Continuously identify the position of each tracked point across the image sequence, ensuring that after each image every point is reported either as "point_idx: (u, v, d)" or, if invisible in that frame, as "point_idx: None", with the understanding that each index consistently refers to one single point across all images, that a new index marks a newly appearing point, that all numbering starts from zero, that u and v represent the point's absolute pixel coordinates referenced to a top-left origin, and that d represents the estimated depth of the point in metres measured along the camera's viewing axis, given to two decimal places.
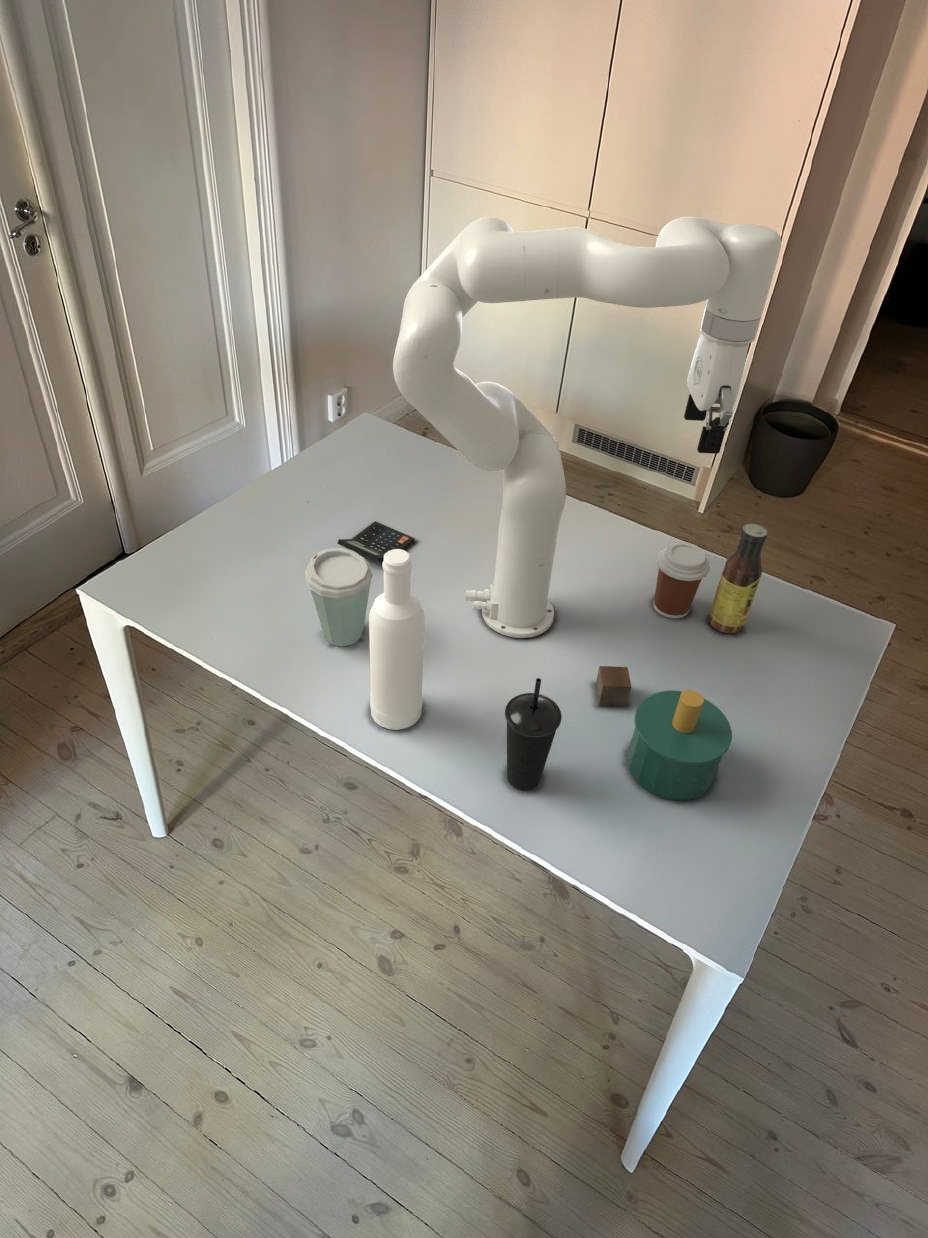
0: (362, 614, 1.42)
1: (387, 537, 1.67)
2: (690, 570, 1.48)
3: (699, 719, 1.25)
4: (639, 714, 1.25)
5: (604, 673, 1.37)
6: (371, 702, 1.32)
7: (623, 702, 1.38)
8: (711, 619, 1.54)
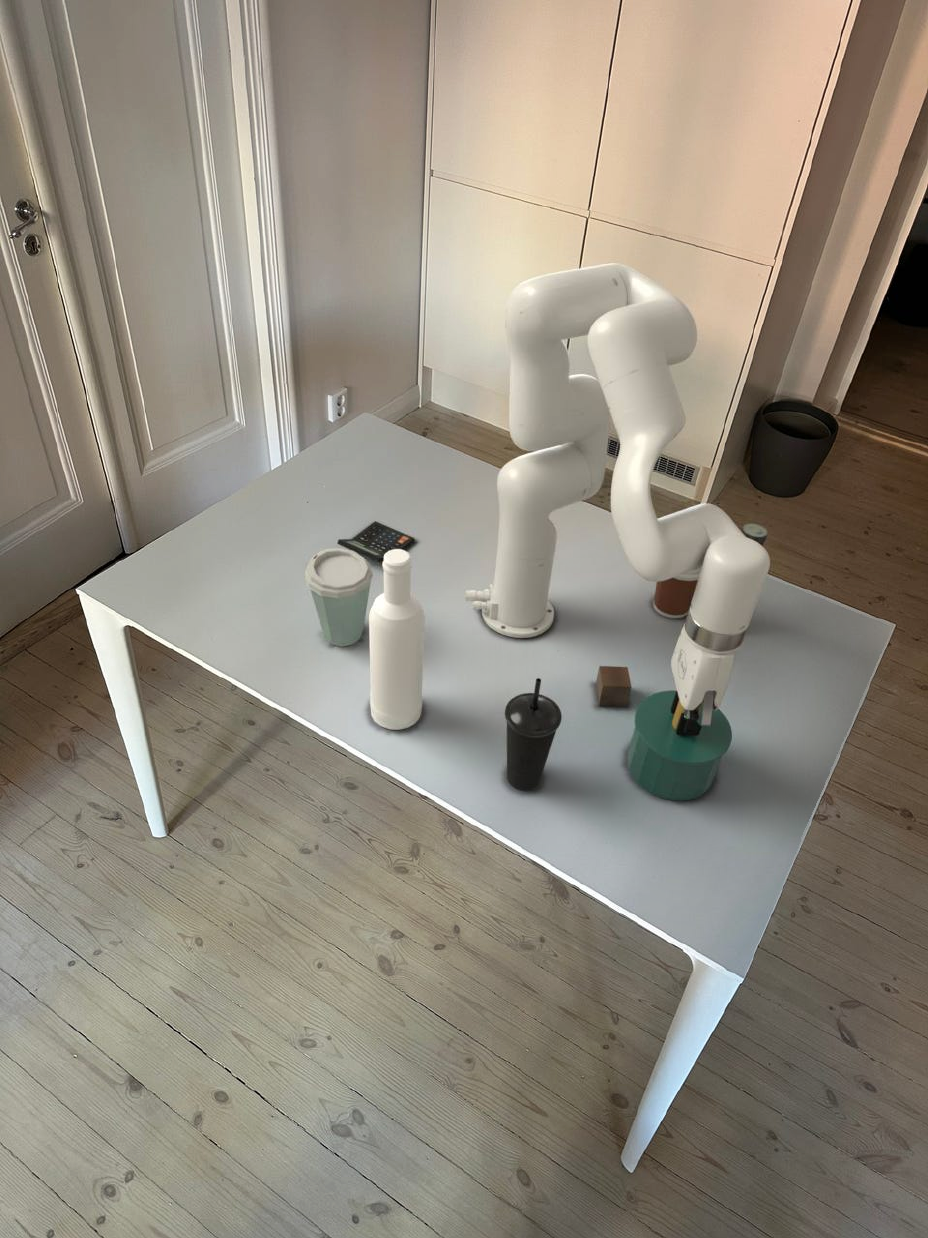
0: (362, 614, 1.42)
1: (387, 537, 1.67)
2: (690, 570, 1.48)
3: None
4: (639, 714, 1.25)
5: (604, 673, 1.37)
6: (371, 702, 1.32)
7: (623, 702, 1.38)
8: None
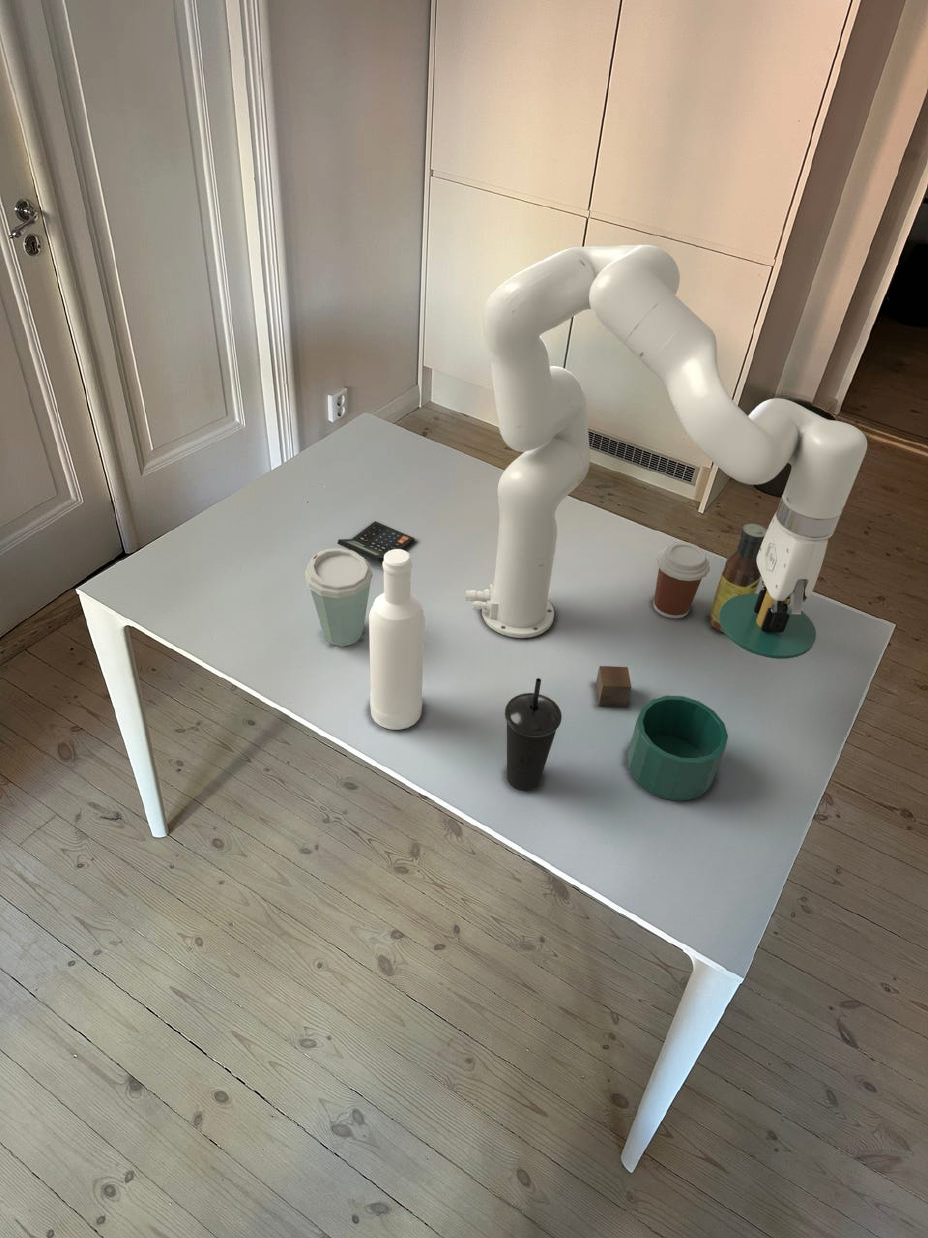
0: (362, 614, 1.42)
1: (387, 537, 1.67)
2: (690, 570, 1.48)
3: None
4: (723, 613, 1.27)
5: (604, 673, 1.37)
6: (371, 702, 1.32)
7: (623, 702, 1.38)
8: (711, 619, 1.54)
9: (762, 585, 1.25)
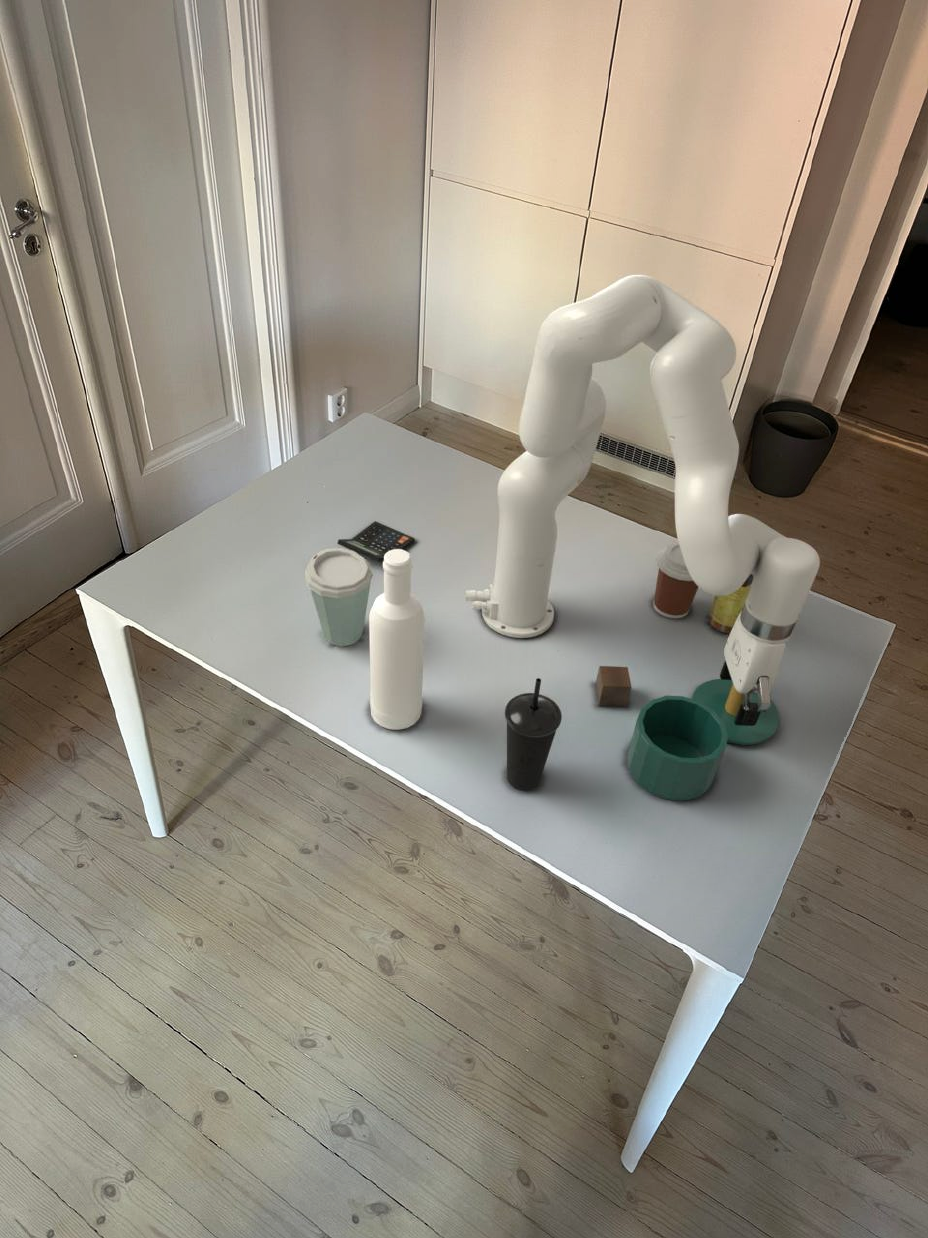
0: (362, 614, 1.42)
1: (387, 537, 1.67)
2: None
3: None
4: (695, 699, 1.39)
5: (604, 673, 1.37)
6: (371, 702, 1.32)
7: (623, 702, 1.38)
8: (711, 619, 1.54)
9: None
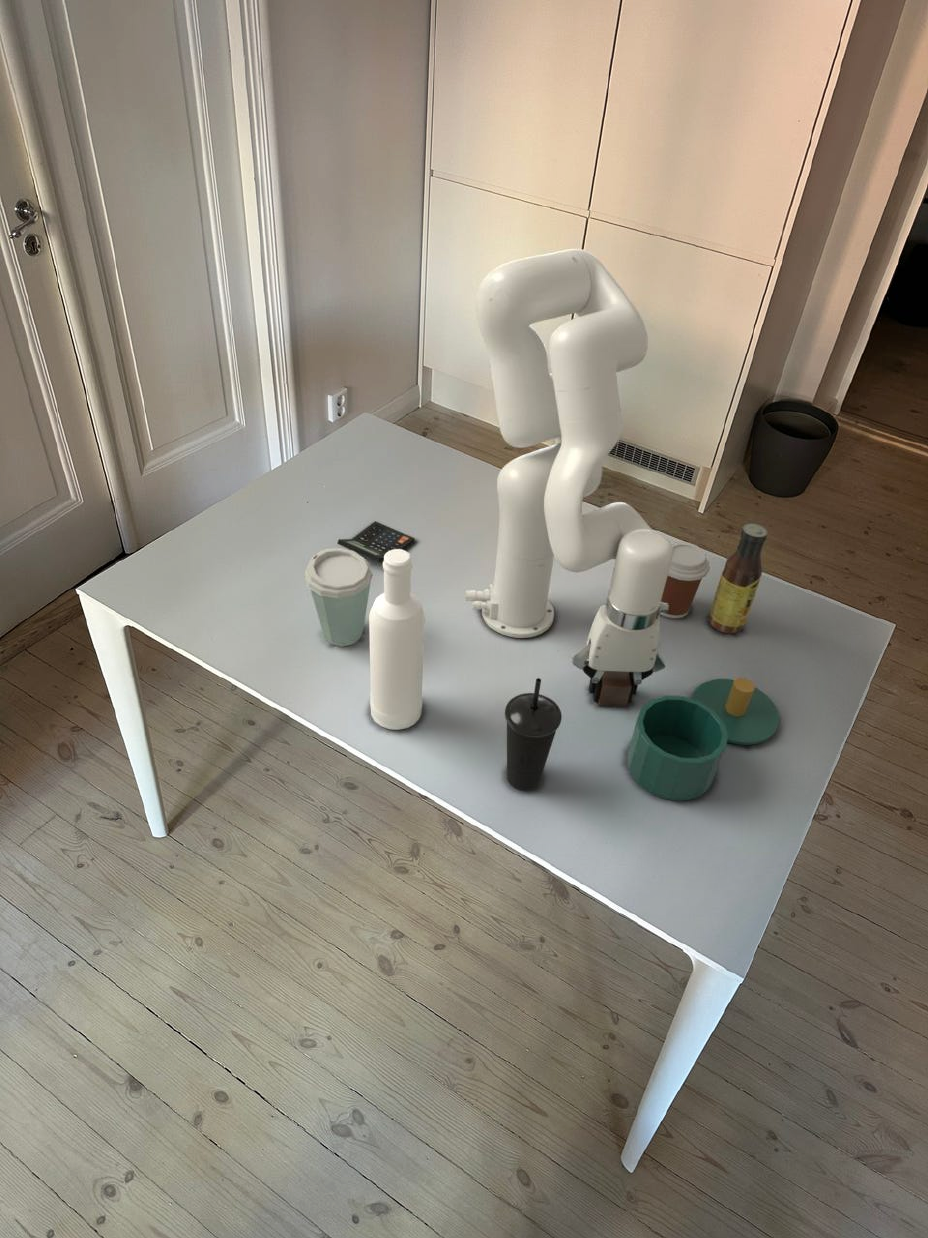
0: (362, 614, 1.42)
1: (387, 537, 1.67)
2: (690, 570, 1.48)
3: (749, 704, 1.39)
4: (695, 699, 1.39)
5: (604, 673, 1.37)
6: (371, 702, 1.32)
7: (623, 702, 1.38)
8: (711, 619, 1.54)
9: None
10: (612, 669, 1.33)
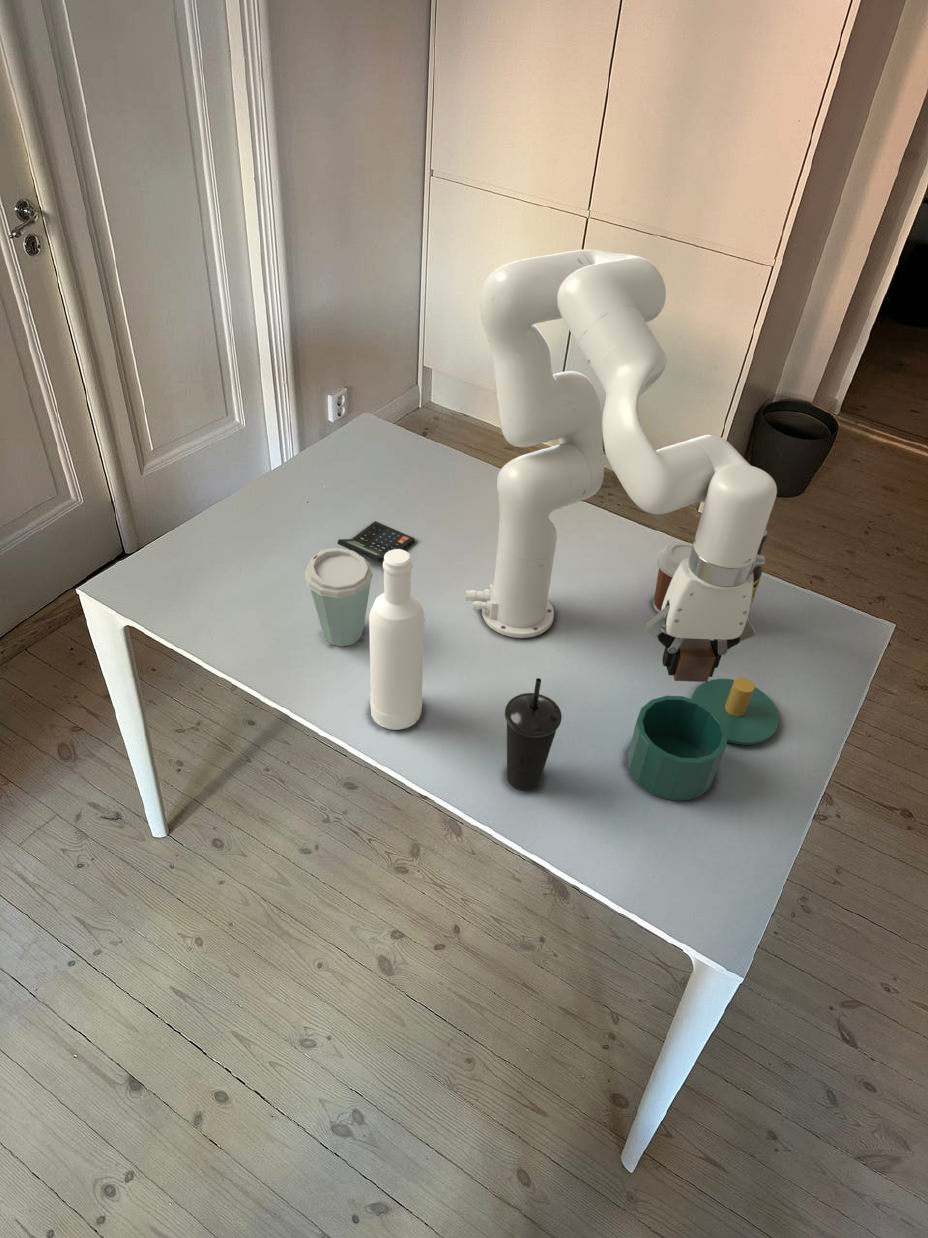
0: (362, 614, 1.42)
1: (387, 537, 1.67)
2: None
3: (749, 704, 1.39)
4: (695, 699, 1.39)
5: None
6: (371, 702, 1.32)
7: (704, 676, 1.17)
8: None
9: None
10: (694, 636, 1.13)
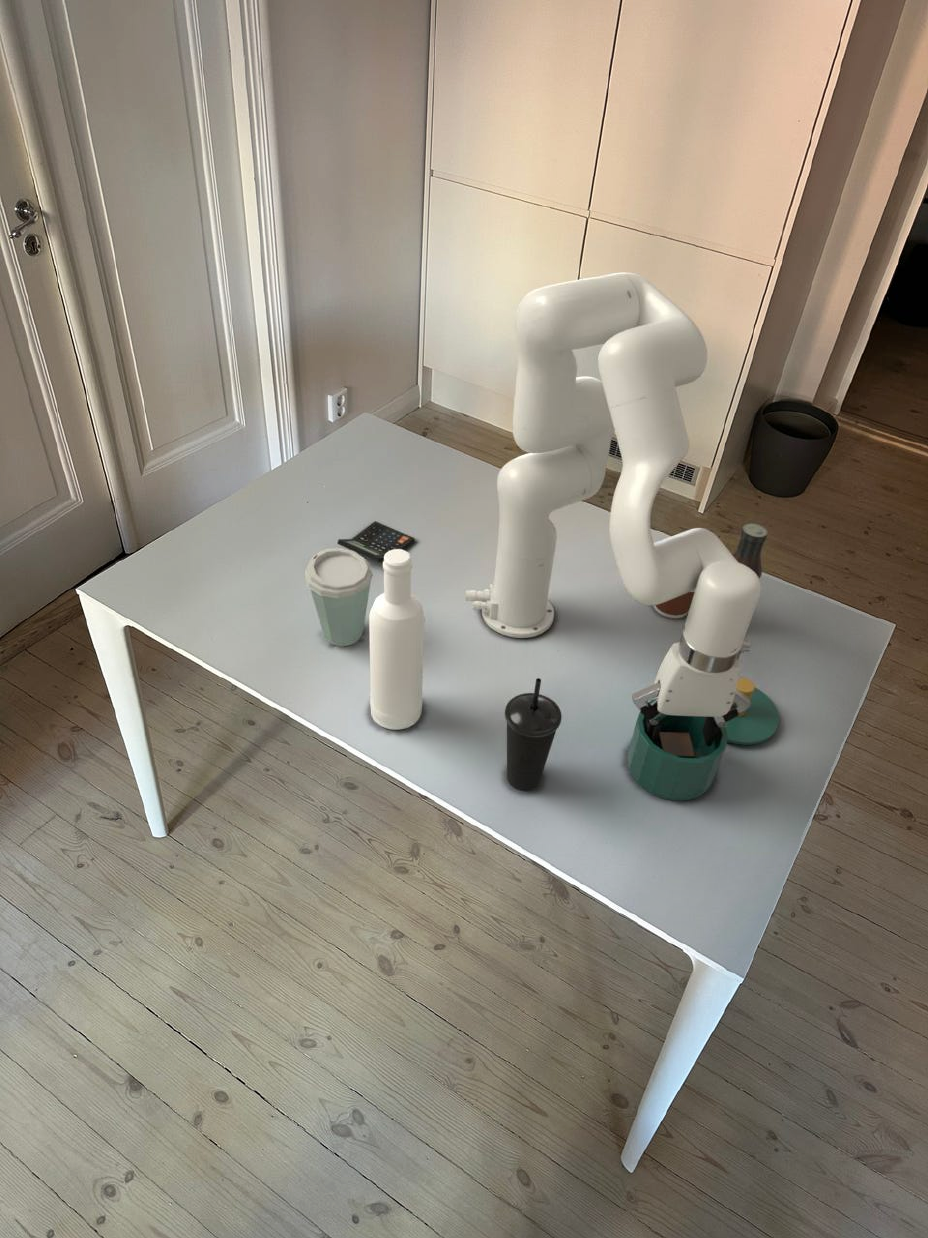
0: (362, 614, 1.42)
1: (387, 537, 1.67)
2: None
3: None
4: None
5: (664, 740, 1.27)
6: (371, 702, 1.32)
7: None
8: None
9: None
10: (683, 714, 1.19)
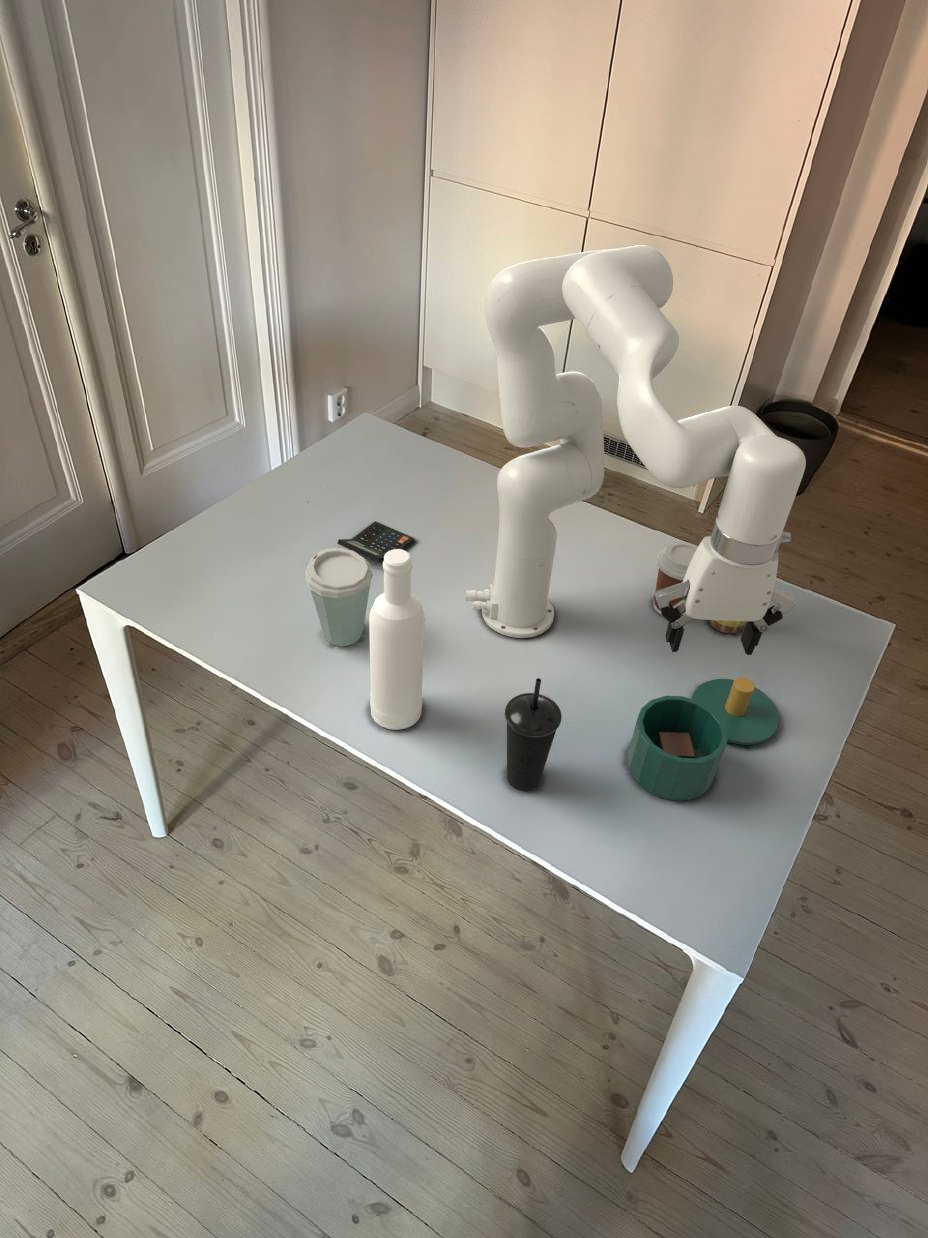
0: (362, 614, 1.42)
1: (387, 537, 1.67)
2: None
3: (749, 704, 1.39)
4: (695, 699, 1.39)
5: (664, 740, 1.27)
6: (371, 702, 1.32)
7: None
8: None
9: None
10: (715, 618, 1.08)
